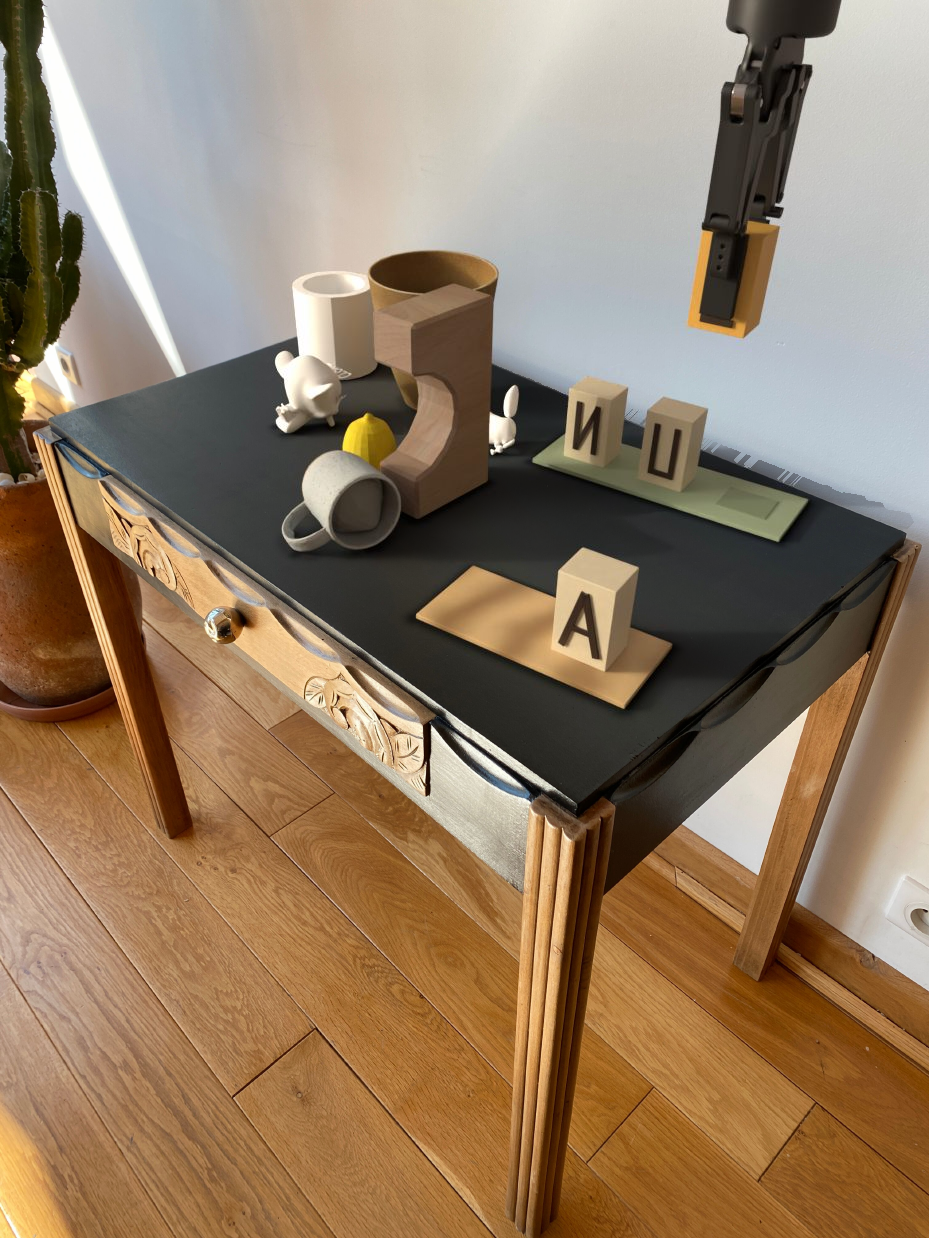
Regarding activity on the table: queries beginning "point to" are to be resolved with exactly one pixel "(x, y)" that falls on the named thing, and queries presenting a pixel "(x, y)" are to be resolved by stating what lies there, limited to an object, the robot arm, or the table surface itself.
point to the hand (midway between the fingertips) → (726, 306)
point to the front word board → (536, 634)
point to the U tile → (672, 443)
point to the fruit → (370, 440)
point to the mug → (336, 320)
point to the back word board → (690, 492)
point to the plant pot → (425, 286)
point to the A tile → (593, 608)
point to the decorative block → (440, 393)
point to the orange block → (750, 285)
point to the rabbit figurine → (504, 423)
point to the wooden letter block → (595, 421)
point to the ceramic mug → (344, 503)
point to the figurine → (307, 390)
